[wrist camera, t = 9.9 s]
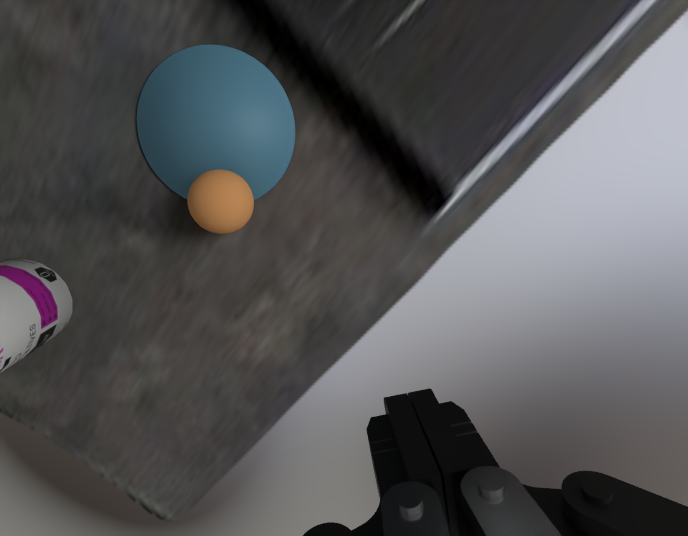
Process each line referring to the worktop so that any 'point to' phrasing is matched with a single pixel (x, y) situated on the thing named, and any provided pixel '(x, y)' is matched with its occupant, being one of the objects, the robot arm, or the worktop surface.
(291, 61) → the worktop surface
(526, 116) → the worktop surface
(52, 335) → the supplement can
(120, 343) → the worktop surface
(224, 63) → the disc
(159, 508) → the worktop surface
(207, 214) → the ball
